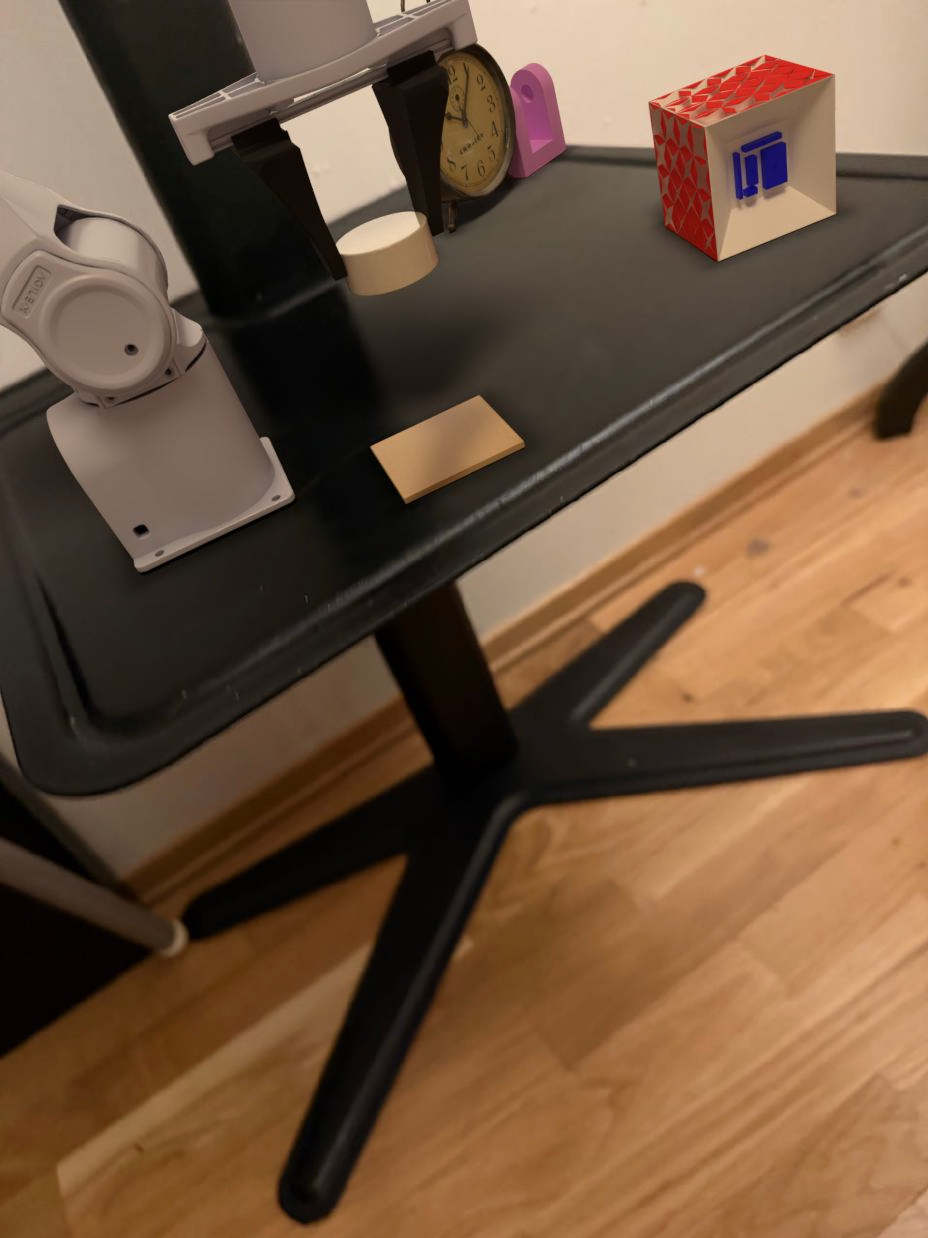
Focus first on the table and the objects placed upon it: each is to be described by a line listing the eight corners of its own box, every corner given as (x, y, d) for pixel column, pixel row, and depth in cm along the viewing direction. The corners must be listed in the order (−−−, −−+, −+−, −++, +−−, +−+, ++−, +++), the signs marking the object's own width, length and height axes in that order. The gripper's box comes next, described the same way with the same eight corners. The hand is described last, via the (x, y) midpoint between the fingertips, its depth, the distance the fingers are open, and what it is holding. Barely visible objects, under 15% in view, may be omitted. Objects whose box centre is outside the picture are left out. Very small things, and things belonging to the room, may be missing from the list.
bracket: (566, 149, 79) (549, 61, 74) (526, 177, 76) (505, 88, 72) (463, 150, 87) (442, 71, 82) (424, 175, 85) (400, 96, 80)
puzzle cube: (772, 182, 62) (765, 54, 56) (836, 213, 56) (835, 73, 50) (663, 226, 62) (646, 102, 56) (716, 262, 56) (703, 127, 50)
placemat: (406, 504, 47) (403, 498, 46) (372, 451, 51) (369, 446, 51) (525, 447, 47) (523, 440, 47) (481, 400, 52) (479, 394, 52)
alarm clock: (458, 239, 71) (388, 2, 60) (409, 238, 74) (334, 14, 63) (534, 177, 76) (483, -52, 65) (485, 179, 79) (428, -38, 68)
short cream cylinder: (364, 306, 45) (348, 263, 44) (338, 280, 49) (323, 240, 47) (452, 266, 46) (440, 223, 44) (421, 243, 49) (408, 203, 48)
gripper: (401, -121, 41) (480, 179, 50) (110, 0, 40) (245, 286, 49) (455, -130, 36) (533, 207, 45) (122, 8, 35) (271, 327, 44)
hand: (386, 251), depth 47 cm, fingers closed on short cream cylinder, 5 cm apart
